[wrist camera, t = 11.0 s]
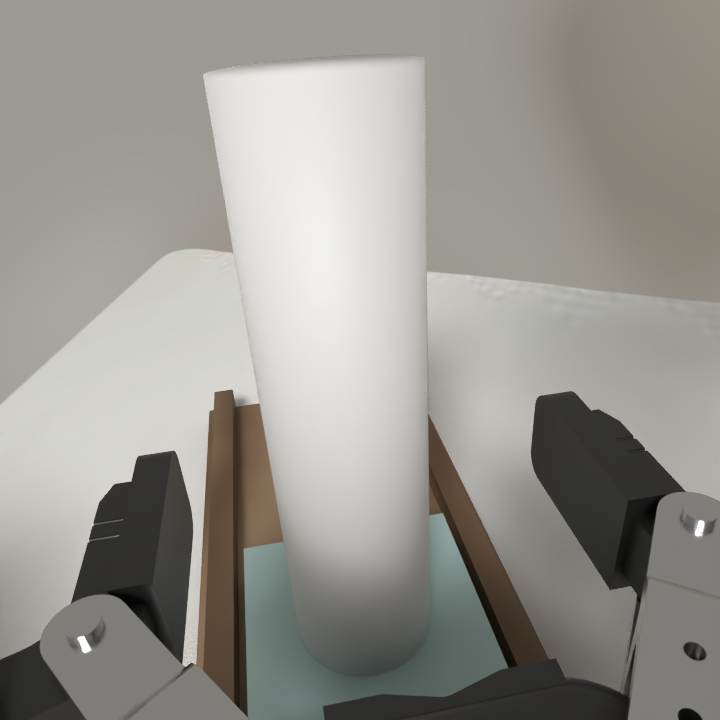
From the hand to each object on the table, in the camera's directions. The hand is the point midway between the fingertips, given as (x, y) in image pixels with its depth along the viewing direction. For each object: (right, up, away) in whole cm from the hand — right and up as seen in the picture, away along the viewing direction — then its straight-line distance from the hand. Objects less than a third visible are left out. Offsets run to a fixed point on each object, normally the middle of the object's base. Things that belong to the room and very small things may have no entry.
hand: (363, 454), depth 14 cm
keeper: (0, -8, +8) cm, 11 cm away
